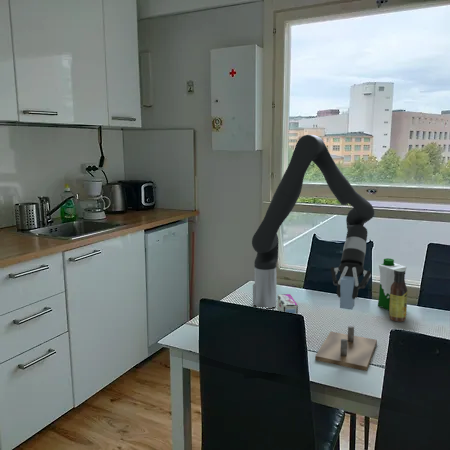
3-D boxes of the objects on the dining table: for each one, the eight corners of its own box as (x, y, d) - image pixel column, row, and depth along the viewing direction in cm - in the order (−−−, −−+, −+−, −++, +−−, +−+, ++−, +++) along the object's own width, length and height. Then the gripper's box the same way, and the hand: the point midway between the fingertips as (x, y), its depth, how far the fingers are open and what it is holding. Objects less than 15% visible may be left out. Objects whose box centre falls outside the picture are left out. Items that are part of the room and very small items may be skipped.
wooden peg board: (315, 360, 142) (315, 341, 140) (330, 335, 159) (330, 318, 158) (366, 371, 135) (367, 351, 133) (376, 343, 152) (377, 326, 151)
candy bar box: (297, 351, 148) (298, 305, 145) (283, 352, 148) (283, 305, 144) (290, 336, 159) (290, 293, 156) (276, 337, 158) (276, 293, 155)
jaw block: (339, 308, 147) (340, 279, 145) (342, 303, 150) (342, 275, 149) (352, 309, 145) (353, 280, 143) (354, 305, 149) (355, 277, 147)
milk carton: (389, 301, 190) (391, 256, 186) (406, 308, 182) (409, 262, 178) (374, 305, 186) (376, 259, 182) (391, 312, 178) (394, 265, 174)
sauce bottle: (407, 323, 168) (410, 273, 164) (390, 322, 169) (393, 272, 166) (404, 316, 174) (407, 268, 171) (387, 315, 176) (390, 267, 172)
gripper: (331, 245, 154) (323, 289, 145) (374, 248, 148) (367, 295, 139) (334, 256, 160) (326, 299, 151) (376, 260, 153) (369, 305, 145)
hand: (346, 297), depth 145 cm, fingers closed on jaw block, 4 cm apart
